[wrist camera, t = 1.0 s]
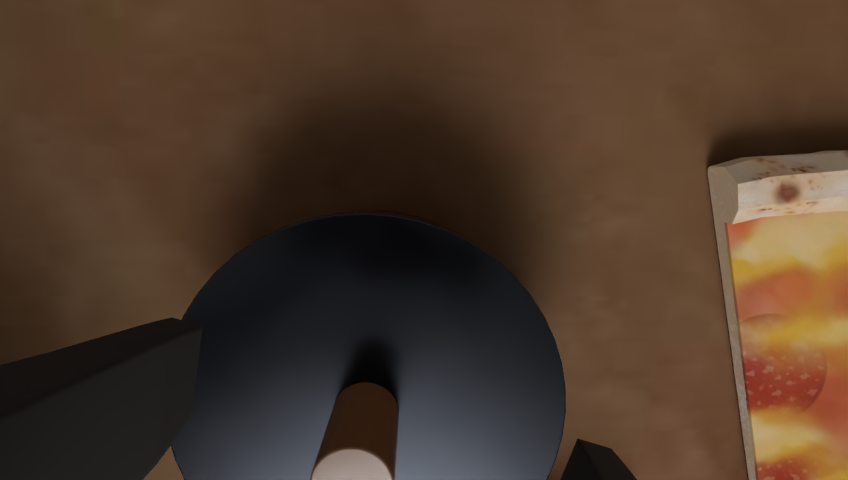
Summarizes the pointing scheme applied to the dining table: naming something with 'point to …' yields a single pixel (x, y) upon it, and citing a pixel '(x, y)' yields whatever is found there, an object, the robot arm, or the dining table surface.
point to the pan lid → (370, 360)
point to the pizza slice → (787, 308)
